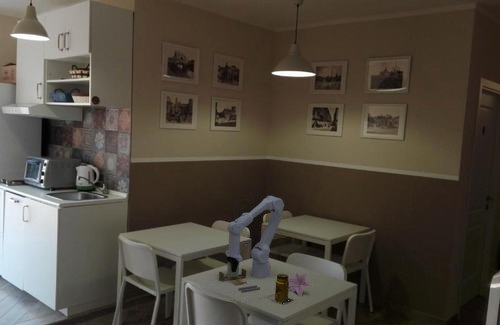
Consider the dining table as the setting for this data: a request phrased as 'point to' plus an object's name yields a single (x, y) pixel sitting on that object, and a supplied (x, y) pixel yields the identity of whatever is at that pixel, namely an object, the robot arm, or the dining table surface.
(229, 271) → the sheet
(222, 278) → the rack
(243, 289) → the stand
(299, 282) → the lily
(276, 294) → the condiment
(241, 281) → the offcut upper
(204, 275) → the dining table surface
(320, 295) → the dining table surface
